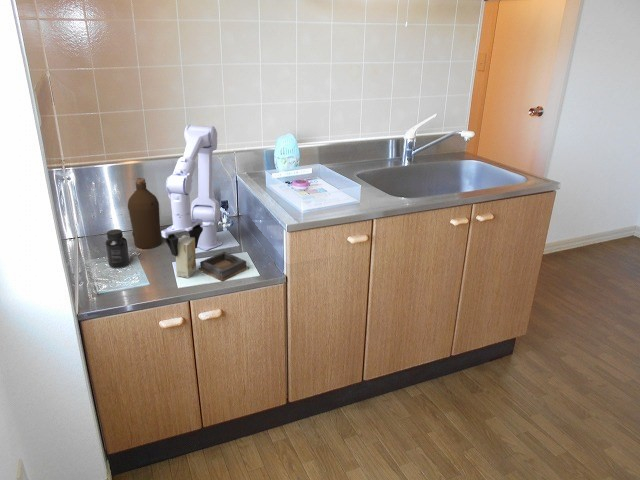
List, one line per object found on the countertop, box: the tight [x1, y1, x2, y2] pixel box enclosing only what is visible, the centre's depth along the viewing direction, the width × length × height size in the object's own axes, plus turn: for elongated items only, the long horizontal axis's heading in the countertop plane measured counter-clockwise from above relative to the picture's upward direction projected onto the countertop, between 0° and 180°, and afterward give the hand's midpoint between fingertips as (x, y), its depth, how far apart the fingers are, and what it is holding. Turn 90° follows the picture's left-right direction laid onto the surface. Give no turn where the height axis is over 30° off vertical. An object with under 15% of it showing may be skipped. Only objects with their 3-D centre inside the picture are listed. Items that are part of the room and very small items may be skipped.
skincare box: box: [175, 235, 197, 279], centre depth 162 cm, size 6×4×12 cm
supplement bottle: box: [104, 228, 130, 269], centre depth 166 cm, size 7×7×12 cm
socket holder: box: [197, 251, 250, 282], centre depth 167 cm, size 12×12×3 cm
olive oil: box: [127, 177, 162, 250], centre depth 179 cm, size 11×11×25 cm
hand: (184, 251), depth 161 cm, fingers open, 7 cm apart
